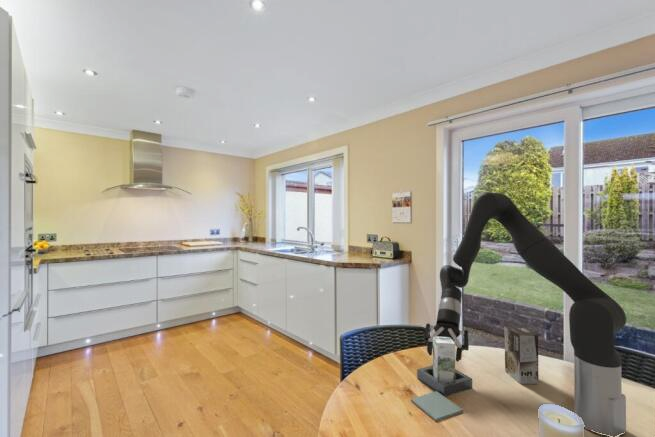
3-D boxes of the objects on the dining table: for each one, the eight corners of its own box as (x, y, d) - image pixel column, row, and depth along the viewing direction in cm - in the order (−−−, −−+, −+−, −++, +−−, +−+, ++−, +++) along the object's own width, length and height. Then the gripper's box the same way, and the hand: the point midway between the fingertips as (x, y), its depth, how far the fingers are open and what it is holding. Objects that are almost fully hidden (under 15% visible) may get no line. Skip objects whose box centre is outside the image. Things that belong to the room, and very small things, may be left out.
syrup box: (450, 378, 102) (449, 335, 102) (455, 388, 96) (455, 343, 96) (432, 377, 102) (432, 335, 102) (437, 387, 96) (437, 342, 97)
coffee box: (539, 384, 98) (539, 335, 98) (519, 384, 98) (519, 335, 98) (522, 370, 107) (521, 325, 107) (504, 370, 107) (503, 325, 107)
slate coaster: (462, 411, 84) (462, 409, 84) (435, 421, 80) (435, 419, 80) (436, 393, 93) (436, 391, 93) (410, 400, 89) (410, 398, 89)
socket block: (472, 388, 96) (472, 378, 96) (443, 396, 91) (443, 387, 91) (443, 370, 107) (443, 362, 107) (417, 378, 102) (417, 369, 102)
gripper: (427, 305, 110) (419, 347, 100) (469, 311, 103) (465, 357, 93) (430, 315, 114) (423, 357, 105) (471, 322, 107) (468, 367, 97)
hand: (443, 357), depth 99 cm, fingers open, 8 cm apart
